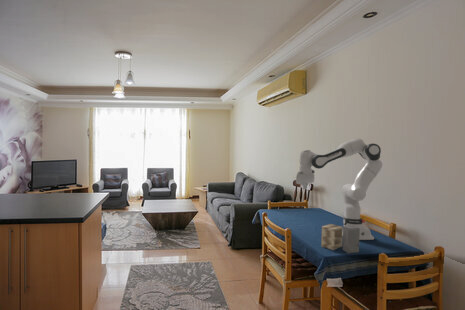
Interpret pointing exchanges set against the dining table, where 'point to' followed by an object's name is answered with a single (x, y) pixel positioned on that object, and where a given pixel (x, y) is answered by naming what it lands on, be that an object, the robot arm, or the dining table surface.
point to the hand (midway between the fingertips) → (305, 189)
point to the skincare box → (351, 239)
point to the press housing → (331, 236)
